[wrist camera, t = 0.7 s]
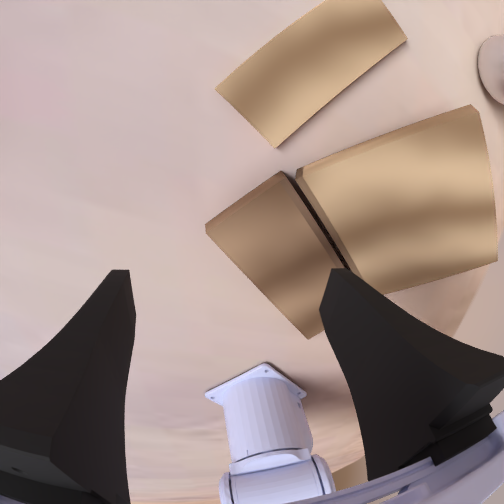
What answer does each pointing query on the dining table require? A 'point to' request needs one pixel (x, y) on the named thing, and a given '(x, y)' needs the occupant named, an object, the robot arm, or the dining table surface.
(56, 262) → the dining table surface
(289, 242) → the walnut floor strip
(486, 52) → the plastic bottle
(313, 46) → the plank
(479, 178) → the oak plank
